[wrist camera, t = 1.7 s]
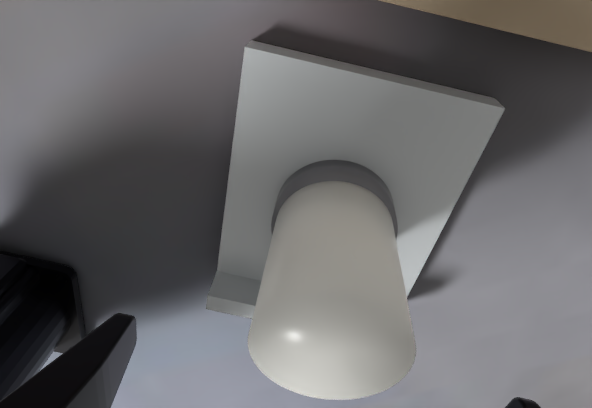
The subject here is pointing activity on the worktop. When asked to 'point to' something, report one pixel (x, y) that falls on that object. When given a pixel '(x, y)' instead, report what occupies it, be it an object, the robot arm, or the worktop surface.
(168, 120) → the worktop surface
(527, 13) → the socket board
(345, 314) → the sleeve
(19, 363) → the robot arm
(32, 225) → the worktop surface
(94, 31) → the worktop surface
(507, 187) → the worktop surface
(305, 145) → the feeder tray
